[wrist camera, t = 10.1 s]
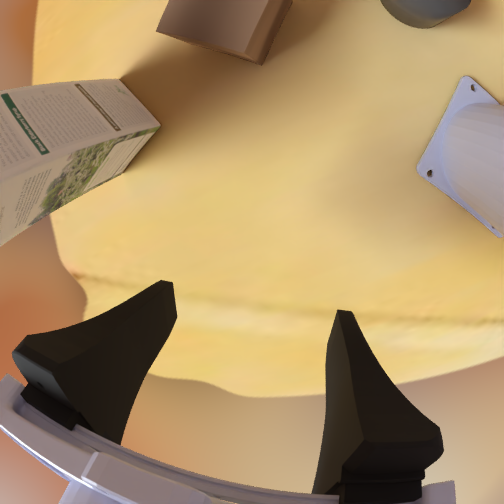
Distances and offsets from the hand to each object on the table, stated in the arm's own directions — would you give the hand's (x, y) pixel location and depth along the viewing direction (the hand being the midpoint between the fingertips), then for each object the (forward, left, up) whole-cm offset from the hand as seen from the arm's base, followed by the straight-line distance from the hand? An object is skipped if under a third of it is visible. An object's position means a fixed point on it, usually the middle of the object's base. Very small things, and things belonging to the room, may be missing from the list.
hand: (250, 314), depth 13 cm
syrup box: (+14, -2, -10) cm, 17 cm away
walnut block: (+8, -12, -10) cm, 17 cm away
